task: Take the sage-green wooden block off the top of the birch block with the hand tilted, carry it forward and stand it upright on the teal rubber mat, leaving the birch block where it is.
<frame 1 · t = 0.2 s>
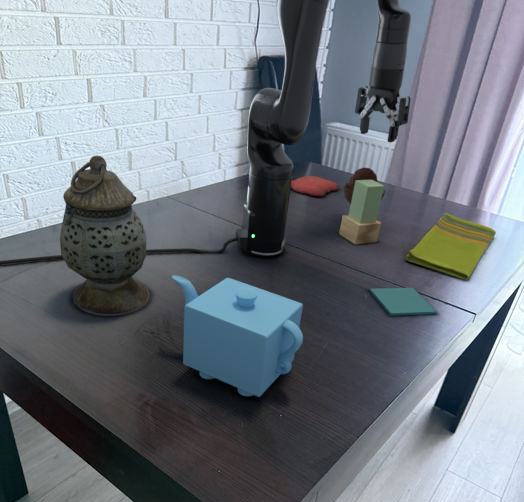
hand: (377, 137, 126), 22 cm above the table, tool pointing down, fingers open, 8 cm apart
green block: (362, 219, 127), point 5 cm above the table, touching birch block
birch block: (357, 237, 130), on the table, touching green block
ice cream bowl: (357, 224, 139), on the table
mat: (401, 302, 103), on the table
lantern: (109, 298, 93), on the table
patty: (312, 188, 162), on the table
teapot: (229, 367, 79), on the table
dish towel: (452, 249, 131), on the table
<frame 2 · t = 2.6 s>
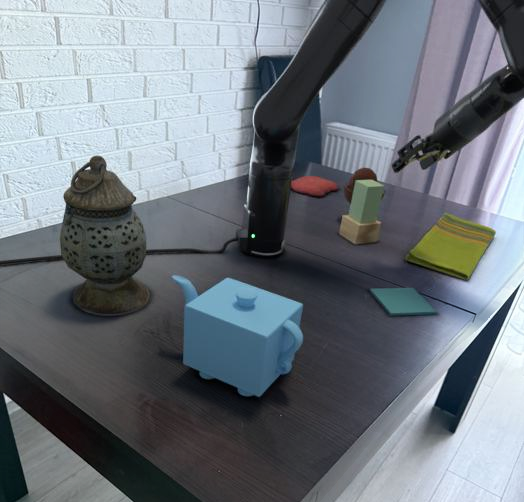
hand: (407, 167, 111), 21 cm above the table, tool tilted 45°, fingers open, 8 cm apart
nothing on the table moved.
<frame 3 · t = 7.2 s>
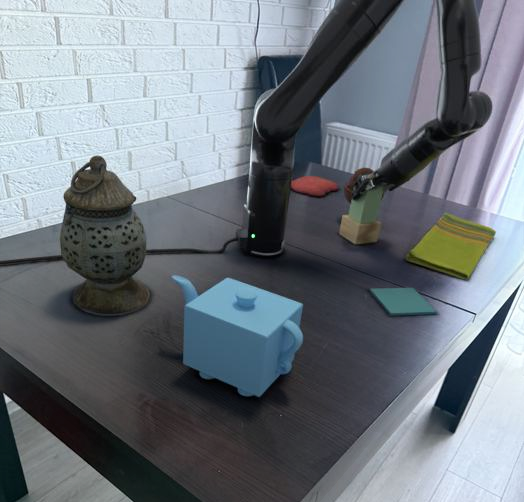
hand: (361, 196, 125), 10 cm above the table, tool tilted 45°, fingers closed on green block, 5 cm apart
green block: (362, 219, 127), point 5 cm above the table, touching birch block, gripper
everything else where it was.
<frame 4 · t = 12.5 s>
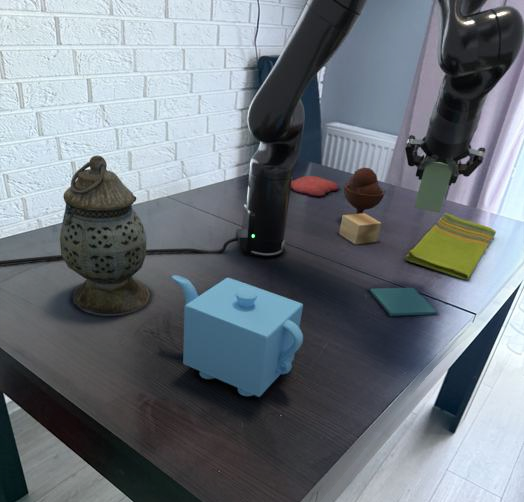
hand: (435, 178, 100), 22 cm above the table, tool tilted 45°, fingers closed on green block, 5 cm apart
green block: (427, 206, 101), point 17 cm above the table, touching gripper
birch block: (357, 237, 130), on the table
everything else where it was.
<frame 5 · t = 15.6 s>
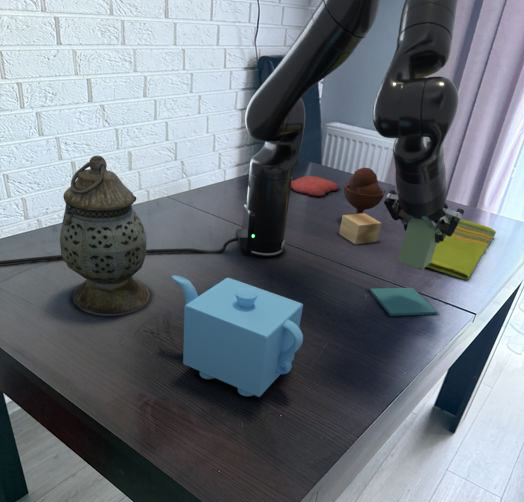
hand: (425, 234, 96), 14 cm above the table, tool tilted 45°, fingers closed on green block, 5 cm apart
green block: (414, 262, 98), point 9 cm above the table, touching gripper
everything else where it was.
when the fingers open (6 cm above the table, at t = 18.0 s): green block stays where it is, resting on mat.
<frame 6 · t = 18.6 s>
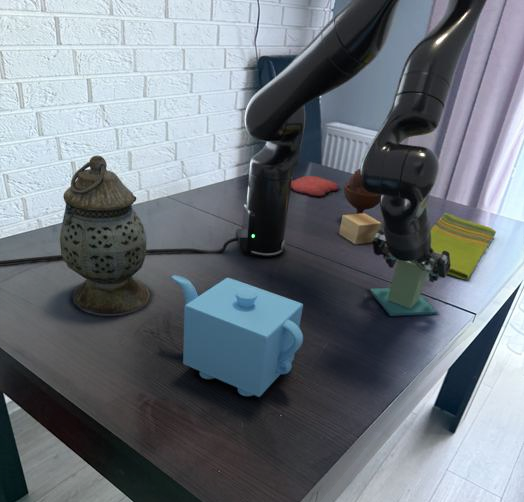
hand: (412, 270, 100), 7 cm above the table, tool tilted 45°, fingers open, 8 cm apart
green block: (403, 300, 102), point 1 cm above the table, touching mat
everything else where it was.
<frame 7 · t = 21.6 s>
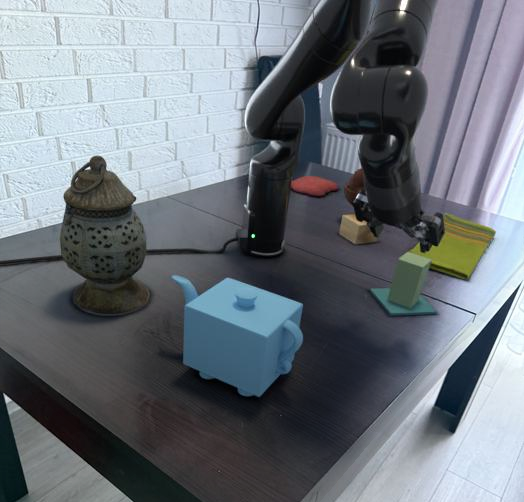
hand: (401, 240, 86), 16 cm above the table, tool tilted 45°, fingers open, 8 cm apart
nothing on the table moved.
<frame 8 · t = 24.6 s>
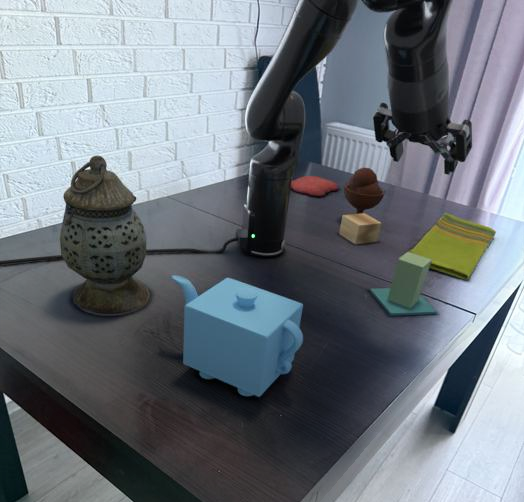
hand: (423, 163, 81), 29 cm above the table, tool tilted 45°, fingers open, 8 cm apart
nothing on the table moved.
at the end: green block inside the target area on the mat (0.1 cm from its centre), point 0.6 cm above the mat's base; green block tilted 0°; birch block moved 0.0 cm from its start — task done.
